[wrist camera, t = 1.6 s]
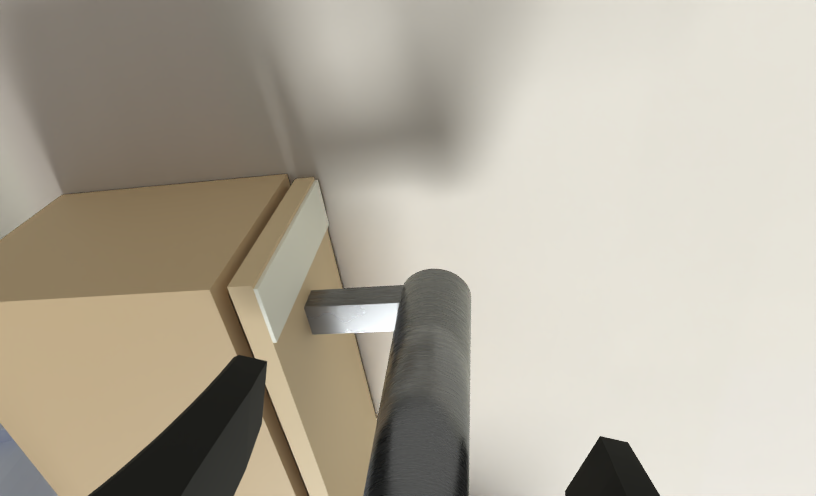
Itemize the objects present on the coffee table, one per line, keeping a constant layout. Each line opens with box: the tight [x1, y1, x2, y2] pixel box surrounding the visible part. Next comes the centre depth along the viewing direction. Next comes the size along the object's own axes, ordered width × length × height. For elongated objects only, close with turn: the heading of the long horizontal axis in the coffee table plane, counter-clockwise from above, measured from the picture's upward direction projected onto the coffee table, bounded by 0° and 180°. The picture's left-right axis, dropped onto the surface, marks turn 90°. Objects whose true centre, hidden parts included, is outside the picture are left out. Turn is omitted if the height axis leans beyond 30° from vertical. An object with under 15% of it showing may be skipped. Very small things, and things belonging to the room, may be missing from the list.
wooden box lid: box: [227, 177, 471, 496], centre depth 16 cm, size 5×12×10 cm, turn 9°
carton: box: [0, 174, 309, 496], centre depth 18 cm, size 8×12×6 cm, turn 9°
